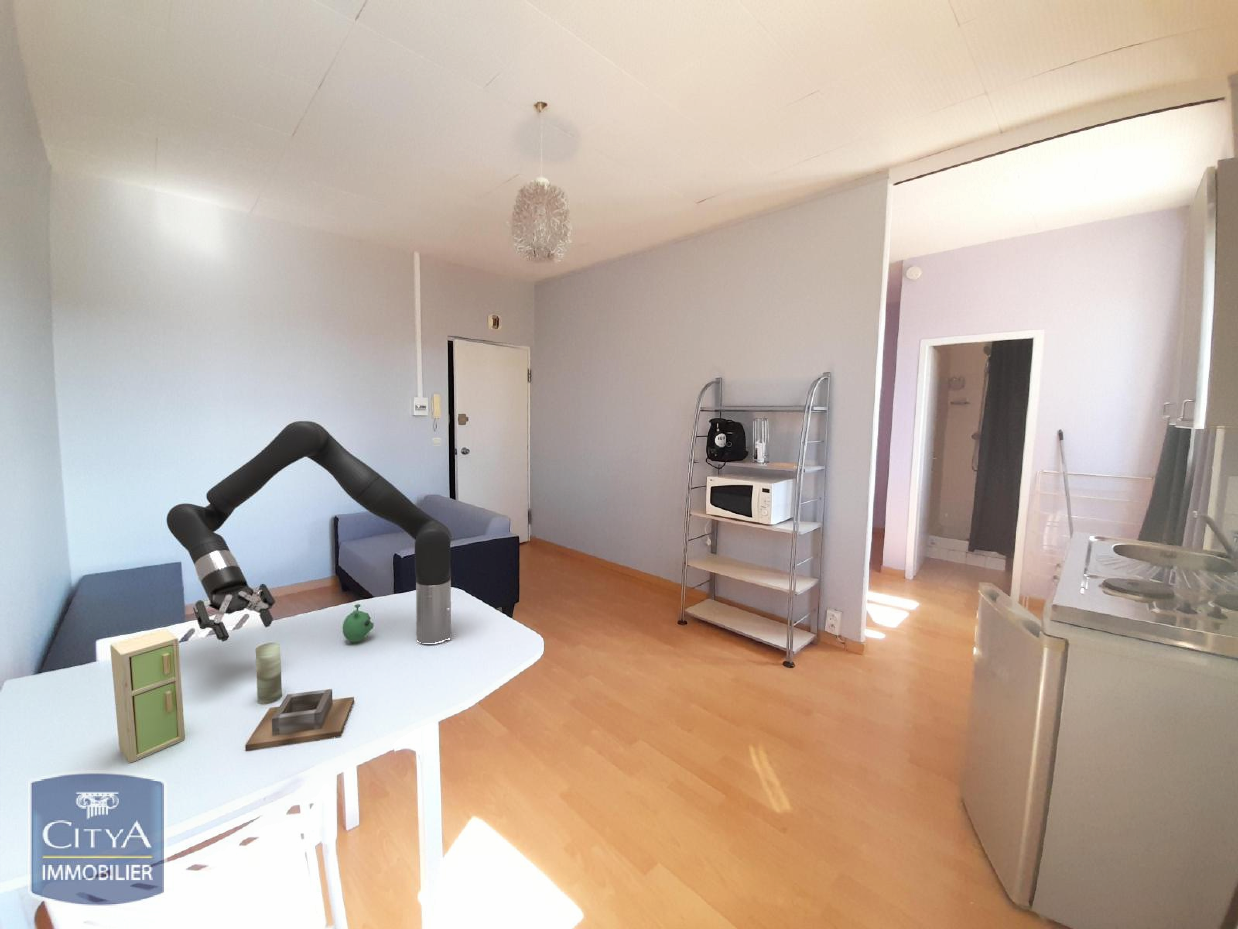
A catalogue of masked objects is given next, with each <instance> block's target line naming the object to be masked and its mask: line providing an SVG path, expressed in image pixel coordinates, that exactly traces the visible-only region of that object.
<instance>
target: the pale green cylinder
mask: <svg viewBox="0 0 1238 929" xmlns="http://www.w3.org/2000/svg"><path fill="white" fill-rule="evenodd" d="M281 664H282V660H281V643H279V642H267V643H263V644H261V645H258V646H257V647H256V648H255V670H256V671H255V672H256V688H257V689H256V694H257V696H256V697H257V703H258V704H259V705H267V704H272V703H275V702H277V701H278V700H280V699H281V698H282V696H283V690H282V687H283V686H282V665H281Z"/></svg>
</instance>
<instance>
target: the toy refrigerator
mask: <svg viewBox="0 0 1238 929" xmlns="http://www.w3.org/2000/svg"><path fill="white" fill-rule="evenodd" d="M179 644H180V643H179V638H178V636H176V635H175V634H174V633H172V632H171V631H170V630H169V629H167V628H164V629H160V630H156V631H153V632H148V633H145V634H142V635H139V636H135V637H131V638H127V639H124V640H121V641H116V642H113V643H111V644H110V647H109V648H110V658H111V660H110V661H111V668H112V669H111V670H112V680H113V692H114V704H115V714H116V715H115V716H116V724H117V725H116V726H117V727H116V728H117V736H118V737H117V738H118V747H119V751H120V752H121V753H122V755H123V756H124V757H125V759H126V760H127V761H128V763H130V764H131V763H133V762H136V761H139V760H141V759H143V758H146V757H148V756H150V755H153V754H155V753H157V752H160V751H161V750H164V749H166V748H168V747H170V746H173V745H175V744H177V743H180V742H183V741H184V740H186V730H185V717H184V704H183V689H182V675H181V674H182V672H181V671H182V670H181V660H180V645H179Z"/></svg>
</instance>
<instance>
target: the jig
mask: <svg viewBox="0 0 1238 929" xmlns="http://www.w3.org/2000/svg"><path fill="white" fill-rule="evenodd" d="M354 703H355V697H354V696H351V697H350V696H349V697H342V698H336V699H333V688H330V689H329V688H328V689H321V690H319V689H318V690H311V691H304V692H297V693H294V692H293V693H287V694H286V695H285V696H284V698H283V700H282V702H281V704H279V706H272V707H269V708H268V709H267V711H266V713H265V714H264V716H263V717H262V719H261V720H260V722H259V724H257V726H256V728H255V730H254V731H253V733H252V734H251V735H250V736H249V739H248V740H247V741H246V743H245V744H244V745H245V746H244V748H245V749H244V751H245V752H248V751H256V750H261V749H267V748H268V749H269V748H275V747H281V746H287V745H294V744H301V743H307V742H308V743H309V742H314V741H315V742H316V741H320V739H322V740H327V739H328V740H329V739H335V738H340V737H339V736H341V737H342V735H343V732H344V730H343V729H345V727H346V724H347V722H346V721H348V719H349V715H350V714H351V711H352V709H351V708H353V706H354ZM352 705H353V706H352ZM349 713H350V714H349ZM344 726H345V727H344ZM341 734H342V735H341ZM334 737H335V738H334Z"/></svg>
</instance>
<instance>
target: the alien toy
mask: <svg viewBox="0 0 1238 929" xmlns="http://www.w3.org/2000/svg"><path fill="white" fill-rule="evenodd" d="M360 607H361V604H360V603H356V604H355V605H354V608H356V609H355V610H353V611H352V612H349V614H348V615H347V616H346V617H345V619H344V620H343V623H342V633H343V636H344V638H345V639H346V640H347V641H348V642H351V643H359V642H362V641H363V640H365V639H366V638H367V637H368V634H369V633H370V632H371V630H373V629H374V627H375V626H374V622H372V621H371V616H370V614H369V613H368V612H365V611H363V610H362V611H361V610H359V608H360Z"/></svg>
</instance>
